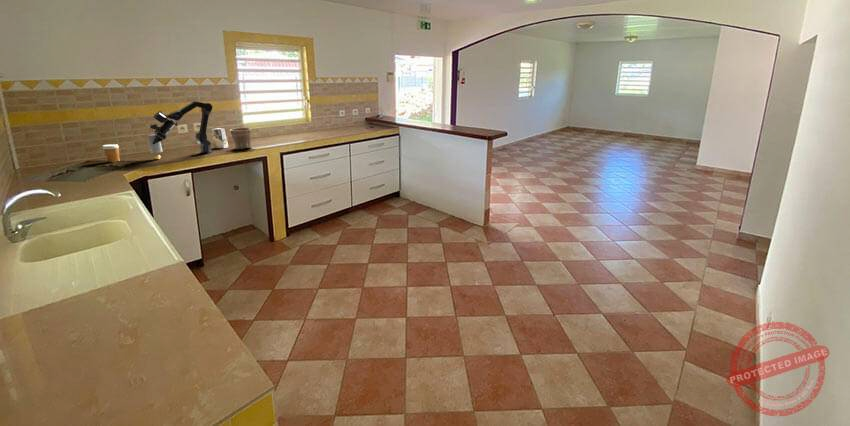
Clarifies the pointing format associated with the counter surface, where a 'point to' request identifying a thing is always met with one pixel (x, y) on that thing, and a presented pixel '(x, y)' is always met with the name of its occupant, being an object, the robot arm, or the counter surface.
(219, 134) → the coffee box
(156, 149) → the white tapered cylinder
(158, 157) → the amber ball
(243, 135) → the plant pot
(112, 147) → the disposable coffee cup
